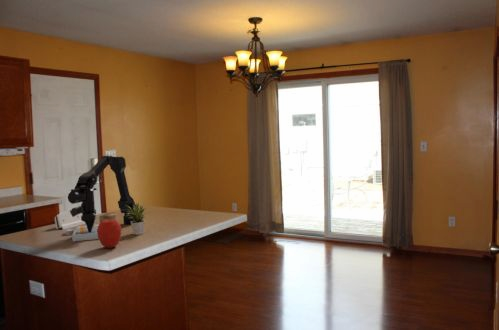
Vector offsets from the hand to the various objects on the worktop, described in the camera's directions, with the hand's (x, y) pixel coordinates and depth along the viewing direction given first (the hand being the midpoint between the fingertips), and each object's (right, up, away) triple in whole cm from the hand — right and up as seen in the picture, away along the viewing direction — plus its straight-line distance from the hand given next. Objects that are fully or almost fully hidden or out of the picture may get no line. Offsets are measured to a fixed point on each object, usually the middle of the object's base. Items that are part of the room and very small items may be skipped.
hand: (90, 231), depth 206 cm
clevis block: (-4, -2, +13) cm, 14 cm away
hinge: (-23, -2, +29) cm, 37 cm away
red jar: (+17, -4, -21) cm, 27 cm away
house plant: (+22, -2, +6) cm, 23 cm away
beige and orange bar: (0, -1, 0) cm, 1 cm away
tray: (+1, -3, 0) cm, 3 cm away
